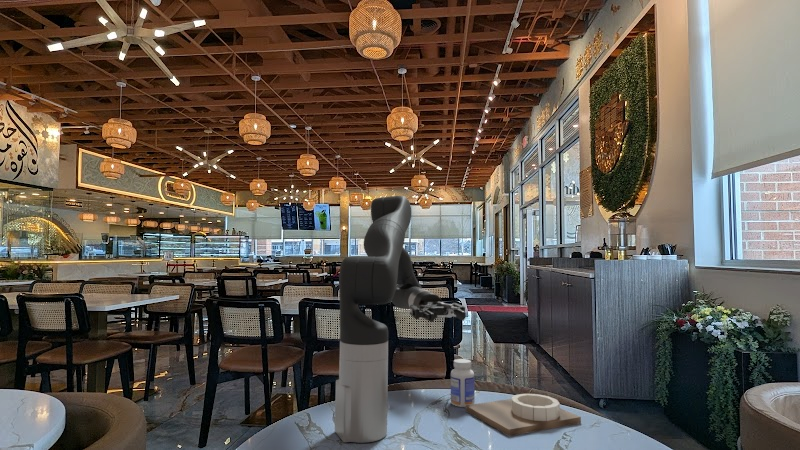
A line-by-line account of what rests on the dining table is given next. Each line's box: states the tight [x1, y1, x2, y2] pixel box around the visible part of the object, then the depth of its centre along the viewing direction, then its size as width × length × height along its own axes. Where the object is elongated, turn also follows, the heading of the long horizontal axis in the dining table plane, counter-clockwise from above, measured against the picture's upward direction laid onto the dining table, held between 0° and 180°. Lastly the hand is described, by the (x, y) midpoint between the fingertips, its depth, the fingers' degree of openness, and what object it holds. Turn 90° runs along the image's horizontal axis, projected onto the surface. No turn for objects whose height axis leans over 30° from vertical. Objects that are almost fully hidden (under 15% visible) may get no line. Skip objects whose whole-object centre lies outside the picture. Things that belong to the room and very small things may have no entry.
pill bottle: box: [450, 358, 476, 408], centre depth 103 cm, size 5×5×10 cm
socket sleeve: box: [510, 393, 561, 421], centre depth 93 cm, size 9×9×2 cm
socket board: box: [465, 398, 582, 437], centre depth 94 cm, size 18×15×1 cm
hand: (448, 317), depth 113 cm, fingers open, 8 cm apart
